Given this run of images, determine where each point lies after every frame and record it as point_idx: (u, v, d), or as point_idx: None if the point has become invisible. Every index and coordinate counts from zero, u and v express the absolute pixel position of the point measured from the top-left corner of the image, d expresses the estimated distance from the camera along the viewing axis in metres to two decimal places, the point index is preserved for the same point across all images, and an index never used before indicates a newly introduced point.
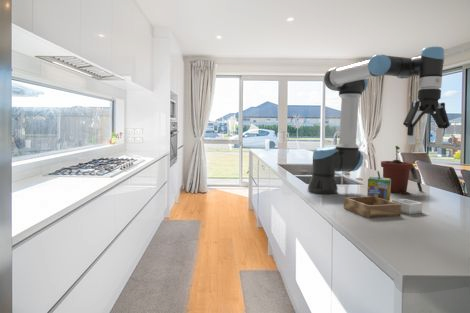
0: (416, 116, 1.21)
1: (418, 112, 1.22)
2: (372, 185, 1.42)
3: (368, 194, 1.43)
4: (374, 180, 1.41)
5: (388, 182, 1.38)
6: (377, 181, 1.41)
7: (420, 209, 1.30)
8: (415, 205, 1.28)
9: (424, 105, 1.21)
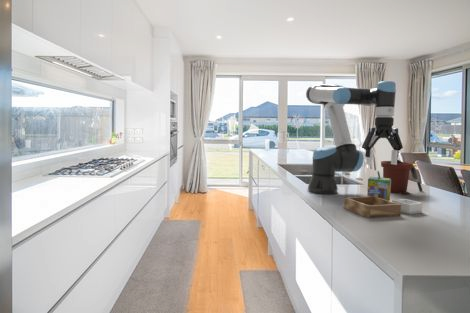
0: (372, 140, 1.40)
1: (374, 137, 1.41)
2: (372, 185, 1.42)
3: (368, 194, 1.43)
4: (374, 180, 1.41)
5: (388, 182, 1.38)
6: (377, 181, 1.41)
7: (420, 209, 1.30)
8: (415, 205, 1.28)
9: (379, 131, 1.40)
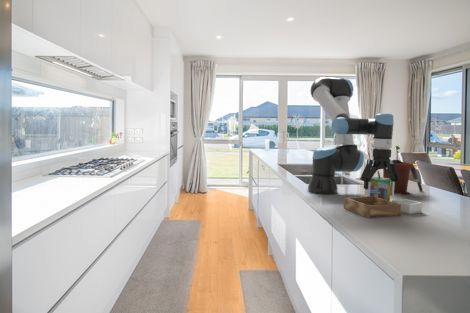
0: (371, 172, 1.42)
1: (372, 168, 1.43)
2: (372, 185, 1.42)
3: None
4: (374, 180, 1.41)
5: (388, 182, 1.38)
6: (377, 181, 1.41)
7: (420, 209, 1.30)
8: (415, 205, 1.28)
9: (377, 162, 1.41)
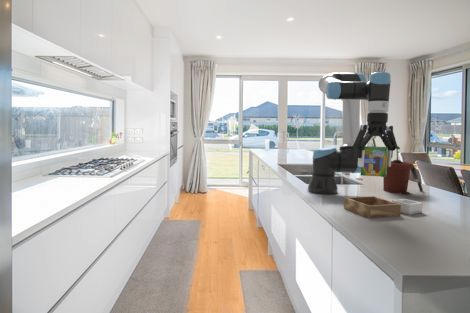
0: (365, 139, 1.25)
1: (367, 135, 1.26)
2: (366, 153, 1.25)
3: None
4: (369, 148, 1.25)
5: (384, 149, 1.22)
6: (372, 149, 1.24)
7: (420, 209, 1.30)
8: (415, 205, 1.28)
9: (372, 128, 1.25)
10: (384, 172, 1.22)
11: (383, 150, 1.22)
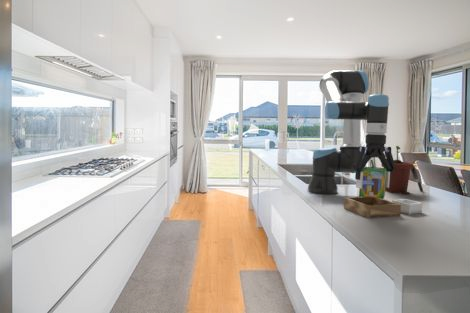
0: (363, 161, 1.26)
1: (365, 156, 1.27)
2: (365, 175, 1.26)
3: None
4: (367, 169, 1.25)
5: (383, 171, 1.22)
6: (370, 170, 1.24)
7: (420, 209, 1.30)
8: (415, 205, 1.28)
9: (370, 150, 1.25)
10: (382, 194, 1.23)
11: (381, 172, 1.23)
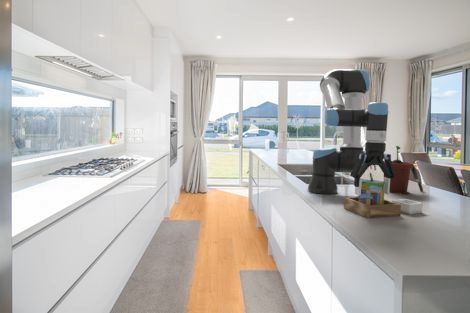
0: (362, 168, 1.26)
1: (364, 164, 1.27)
2: (364, 188, 1.26)
3: (359, 199, 1.27)
4: (366, 183, 1.26)
5: (381, 186, 1.23)
6: (369, 184, 1.25)
7: (420, 209, 1.30)
8: (415, 205, 1.28)
9: (370, 158, 1.26)
10: None
11: (380, 186, 1.23)
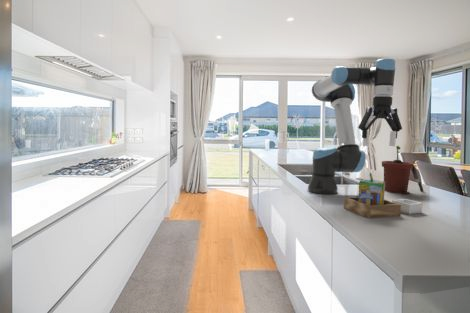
0: (370, 121, 1.36)
1: (372, 117, 1.36)
2: (364, 188, 1.26)
3: (359, 199, 1.27)
4: (366, 183, 1.26)
5: (381, 186, 1.23)
6: (369, 184, 1.25)
7: (420, 209, 1.30)
8: (415, 205, 1.28)
9: (377, 111, 1.35)
10: None
11: (380, 186, 1.23)
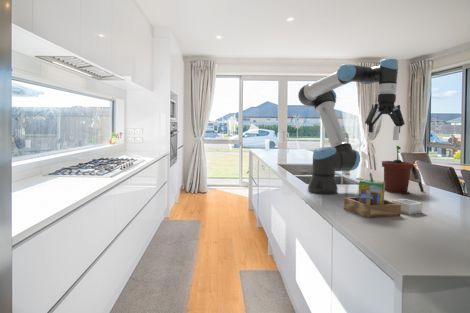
0: (375, 116, 1.46)
1: (377, 113, 1.47)
2: (364, 188, 1.26)
3: (359, 199, 1.27)
4: (366, 183, 1.26)
5: (381, 186, 1.23)
6: (369, 184, 1.25)
7: (420, 209, 1.30)
8: (415, 205, 1.28)
9: (382, 107, 1.45)
10: None
11: (380, 186, 1.23)
